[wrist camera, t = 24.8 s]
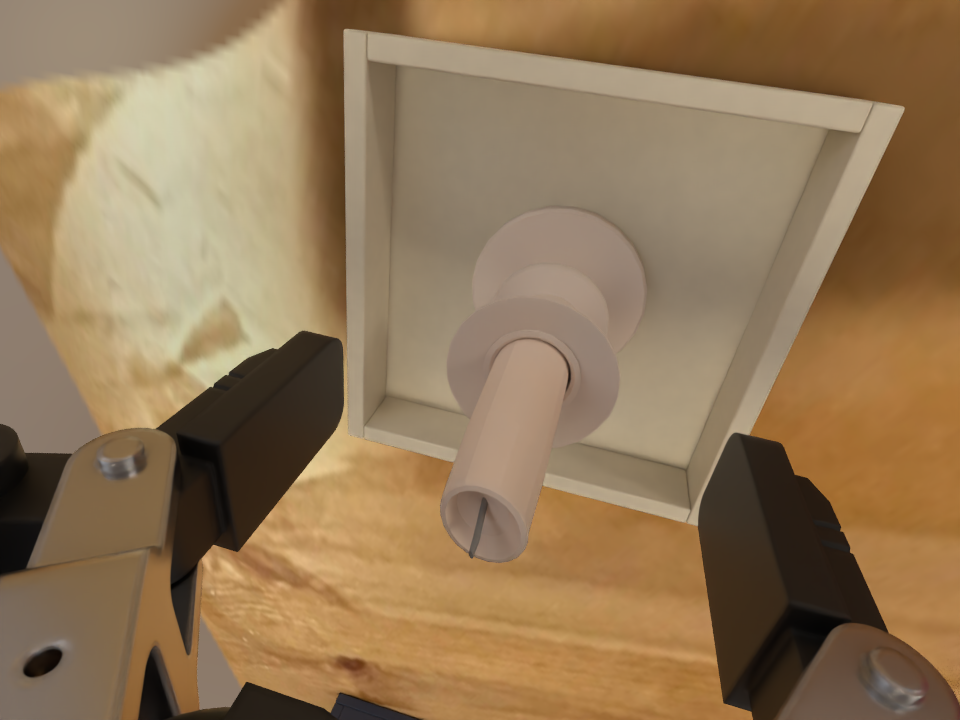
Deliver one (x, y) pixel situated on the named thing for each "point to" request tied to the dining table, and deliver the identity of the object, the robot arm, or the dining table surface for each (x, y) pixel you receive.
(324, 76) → the dining table surface
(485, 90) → the ivory tray
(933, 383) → the dining table surface
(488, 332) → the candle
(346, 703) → the slate tray
